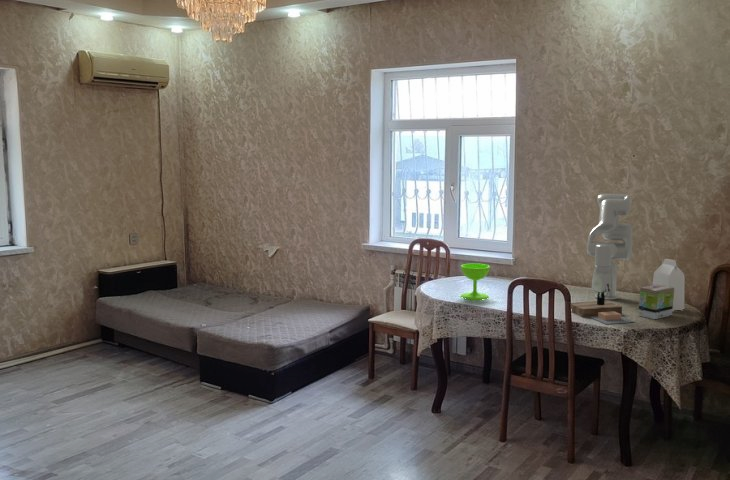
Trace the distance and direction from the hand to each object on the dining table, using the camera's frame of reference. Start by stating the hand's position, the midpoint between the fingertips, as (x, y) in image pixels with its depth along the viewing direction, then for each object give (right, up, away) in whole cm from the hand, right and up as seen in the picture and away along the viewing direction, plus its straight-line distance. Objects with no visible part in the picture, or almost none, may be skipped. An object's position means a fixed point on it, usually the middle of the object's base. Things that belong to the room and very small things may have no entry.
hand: (600, 304), depth 337 cm
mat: (+2, -7, -9) cm, 11 cm away
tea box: (+27, -6, -1) cm, 28 cm away
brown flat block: (-1, -5, +6) cm, 7 cm away
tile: (+2, -5, -7) cm, 9 cm away
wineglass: (-57, 0, +40) cm, 70 cm away
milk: (+40, -4, +15) cm, 43 cm away
